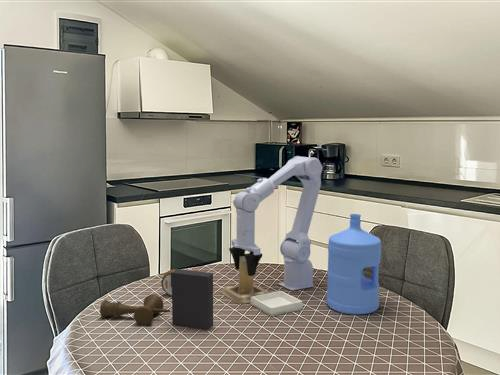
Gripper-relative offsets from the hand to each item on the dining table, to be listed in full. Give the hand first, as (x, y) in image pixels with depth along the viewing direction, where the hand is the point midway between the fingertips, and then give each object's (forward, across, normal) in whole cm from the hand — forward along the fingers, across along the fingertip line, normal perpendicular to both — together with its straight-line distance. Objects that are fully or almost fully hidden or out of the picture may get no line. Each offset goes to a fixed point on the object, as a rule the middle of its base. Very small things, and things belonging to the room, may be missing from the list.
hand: (245, 272), depth 159 cm
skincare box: (+8, 0, 0) cm, 8 cm away
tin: (+8, -10, -16) cm, 21 cm away
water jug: (+8, +24, +24) cm, 35 cm away
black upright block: (+8, +13, -24) cm, 29 cm away
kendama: (+9, 0, -36) cm, 37 cm away
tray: (+8, +13, +3) cm, 16 cm away
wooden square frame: (+8, 0, 0) cm, 8 cm away
